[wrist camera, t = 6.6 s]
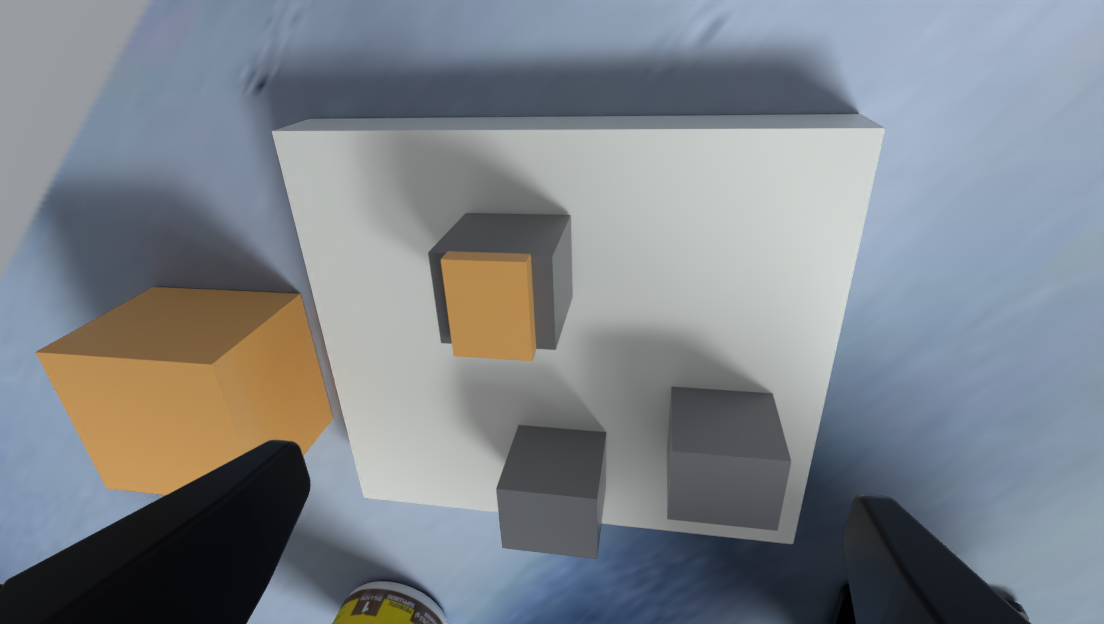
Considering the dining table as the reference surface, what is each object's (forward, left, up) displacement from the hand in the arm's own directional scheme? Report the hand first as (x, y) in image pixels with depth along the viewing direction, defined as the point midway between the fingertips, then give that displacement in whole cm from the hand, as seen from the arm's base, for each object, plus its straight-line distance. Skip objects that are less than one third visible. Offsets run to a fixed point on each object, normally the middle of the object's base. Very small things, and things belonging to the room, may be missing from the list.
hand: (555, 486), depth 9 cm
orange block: (+15, +6, -11) cm, 19 cm away
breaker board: (+2, +4, -11) cm, 12 cm away
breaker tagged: (+3, 0, -9) cm, 9 cm away
